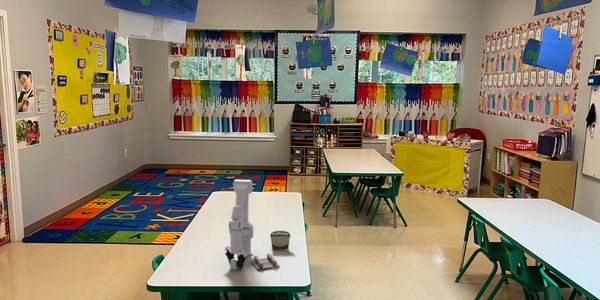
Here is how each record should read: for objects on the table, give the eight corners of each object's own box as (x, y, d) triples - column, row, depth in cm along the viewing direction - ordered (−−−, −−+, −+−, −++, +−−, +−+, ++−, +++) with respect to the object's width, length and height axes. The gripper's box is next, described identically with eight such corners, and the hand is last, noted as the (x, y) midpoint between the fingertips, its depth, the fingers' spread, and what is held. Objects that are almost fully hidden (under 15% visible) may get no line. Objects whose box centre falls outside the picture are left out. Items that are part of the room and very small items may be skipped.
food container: (290, 246, 266) (290, 230, 264) (290, 250, 260) (290, 233, 258) (270, 246, 266) (270, 230, 264) (269, 250, 260) (269, 233, 258)
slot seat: (251, 262, 242) (251, 256, 242) (271, 258, 247) (271, 252, 246) (258, 270, 231) (257, 264, 231) (279, 267, 236) (279, 261, 236)
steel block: (230, 269, 233) (230, 259, 232) (236, 267, 236) (236, 256, 235) (236, 272, 230) (236, 261, 229) (242, 269, 233) (242, 258, 232)
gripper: (220, 240, 232) (221, 265, 234) (240, 247, 223) (240, 272, 225) (230, 237, 237) (230, 261, 239) (250, 243, 229) (250, 268, 231)
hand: (236, 266), depth 233 cm, fingers open, 6 cm apart
